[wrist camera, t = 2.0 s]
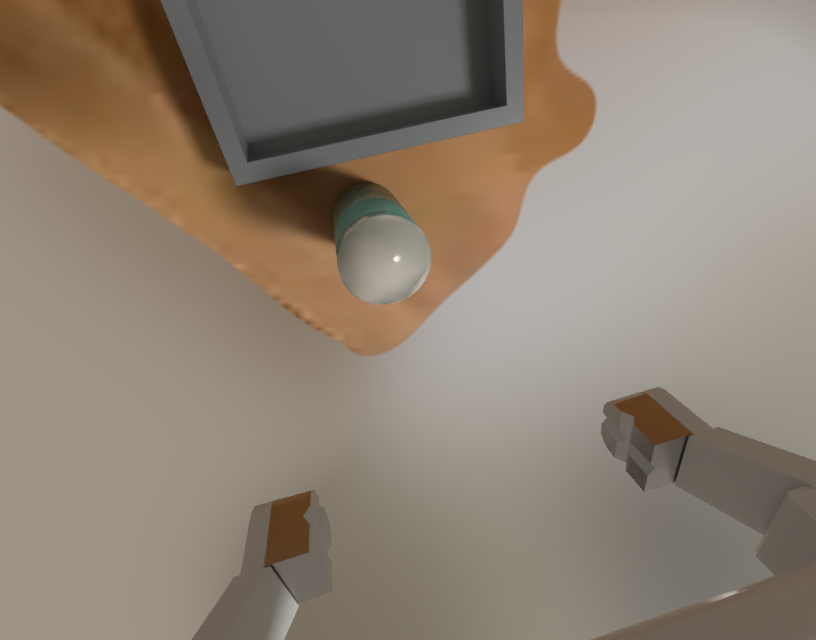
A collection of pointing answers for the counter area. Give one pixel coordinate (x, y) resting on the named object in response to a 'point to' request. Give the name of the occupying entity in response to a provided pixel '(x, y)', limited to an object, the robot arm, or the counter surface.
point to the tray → (347, 75)
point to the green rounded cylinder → (378, 245)
